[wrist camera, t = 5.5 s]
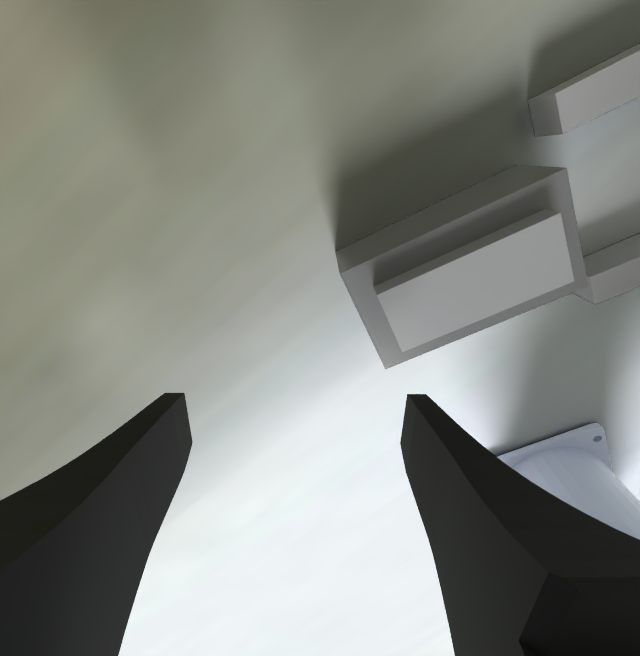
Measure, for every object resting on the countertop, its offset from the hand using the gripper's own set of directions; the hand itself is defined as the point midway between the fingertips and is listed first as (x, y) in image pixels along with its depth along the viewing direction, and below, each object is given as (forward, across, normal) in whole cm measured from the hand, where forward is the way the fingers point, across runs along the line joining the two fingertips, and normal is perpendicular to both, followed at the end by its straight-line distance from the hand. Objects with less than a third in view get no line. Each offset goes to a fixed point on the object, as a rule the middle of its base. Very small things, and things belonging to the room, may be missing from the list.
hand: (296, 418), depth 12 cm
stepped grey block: (+9, -7, -3) cm, 11 cm away
